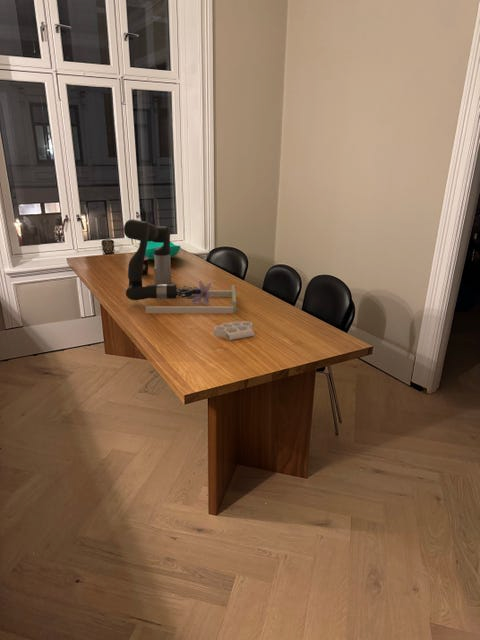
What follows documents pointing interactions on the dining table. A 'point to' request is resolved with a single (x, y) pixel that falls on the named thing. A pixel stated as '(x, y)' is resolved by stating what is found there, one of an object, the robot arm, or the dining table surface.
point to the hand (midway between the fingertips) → (200, 291)
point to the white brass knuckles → (234, 330)
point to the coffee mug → (145, 266)
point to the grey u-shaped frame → (199, 308)
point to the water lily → (202, 294)
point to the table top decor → (153, 245)
